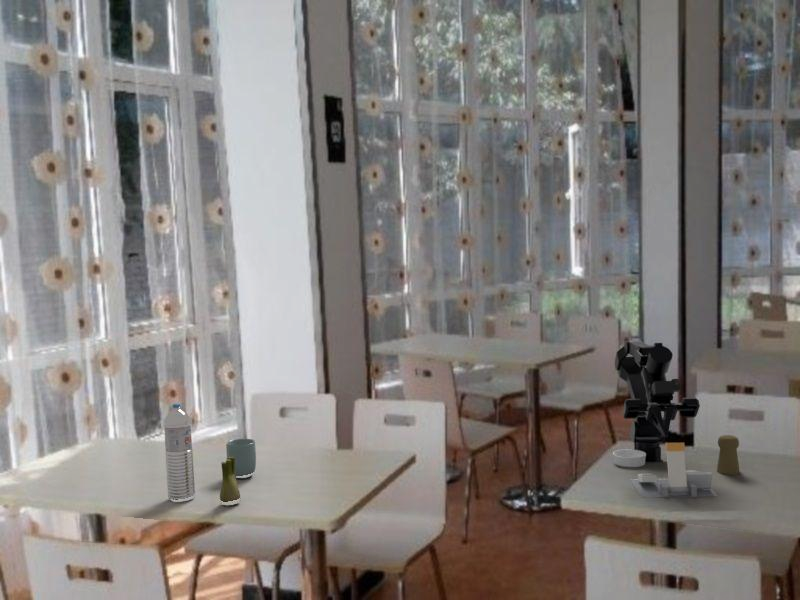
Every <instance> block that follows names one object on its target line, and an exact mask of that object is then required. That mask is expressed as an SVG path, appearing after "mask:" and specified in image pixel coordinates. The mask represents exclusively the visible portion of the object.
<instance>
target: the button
mask: <svg viewBox="0 0 800 600" xmlns="http://www.w3.org/2000/svg"><path fill="white" fill-rule="evenodd" d="M686 472H699V471H698V470H694V469H692V470H691V469H690V470H689V469H686Z"/></svg>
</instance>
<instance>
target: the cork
mask: <svg viewBox="0 0 800 600" xmlns="http://www.w3.org/2000/svg"><path fill="white" fill-rule="evenodd" d="M717 445H718V447H719V453H718V461H717V466H716V467H717V469H716V472H717V473H718V474H721V475H729V476H731V475H733V476H736V475H739V474H740V473H741V471H740V465H739V464H740V463H739V456H738V451H737V449H738V448H739V447H740V441H739V438H738V437H737V436H735V435H730V434H724V435H723V434H722V435H721V436H719V437H718V439H717Z"/></svg>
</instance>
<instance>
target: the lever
mask: <svg viewBox="0 0 800 600" xmlns="http://www.w3.org/2000/svg"><path fill="white" fill-rule="evenodd" d="M685 447H686V446H685V442H665V452H666V461H667V462H666V463H667V464H666V465H667V478H668V481H669V486H668V493H669V494H671V493H688V486H687V481H686V471H687V469H686V455H685V451H686V448H685Z"/></svg>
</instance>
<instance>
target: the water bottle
mask: <svg viewBox="0 0 800 600" xmlns="http://www.w3.org/2000/svg"><path fill="white" fill-rule="evenodd" d="M191 426H192V419H191V417H190V415H189V414H188V413H187V412H186V411H184V410H182V409H181V403H177V402H176V403H172V410H171V411H169V413H167V414H166V416H165V417H164V419H163V427H164V441H165V442H164V444H165V445H164V446H165V451H164V453H165V468H166V469H165V471H166V481H167V482H166V484H167V496H168V497H167V498H169V499H173V500H174V499H175V500H178V499H185V498H188V497H191V496H193V495H194V494H195V495H196V490H195V485H196V484H195V473H194V472H195V469H194V468H195V467H194V453H193V452H194V449H193V442H192V427H191ZM169 499H168V500H169Z"/></svg>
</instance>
